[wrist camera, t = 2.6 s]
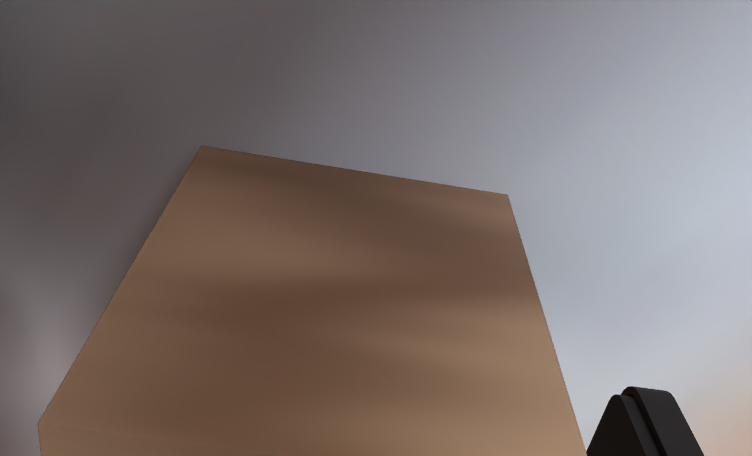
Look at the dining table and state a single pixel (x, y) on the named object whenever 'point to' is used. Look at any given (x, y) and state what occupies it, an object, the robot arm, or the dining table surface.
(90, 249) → the dining table surface
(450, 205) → the walnut brick
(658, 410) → the robot arm
